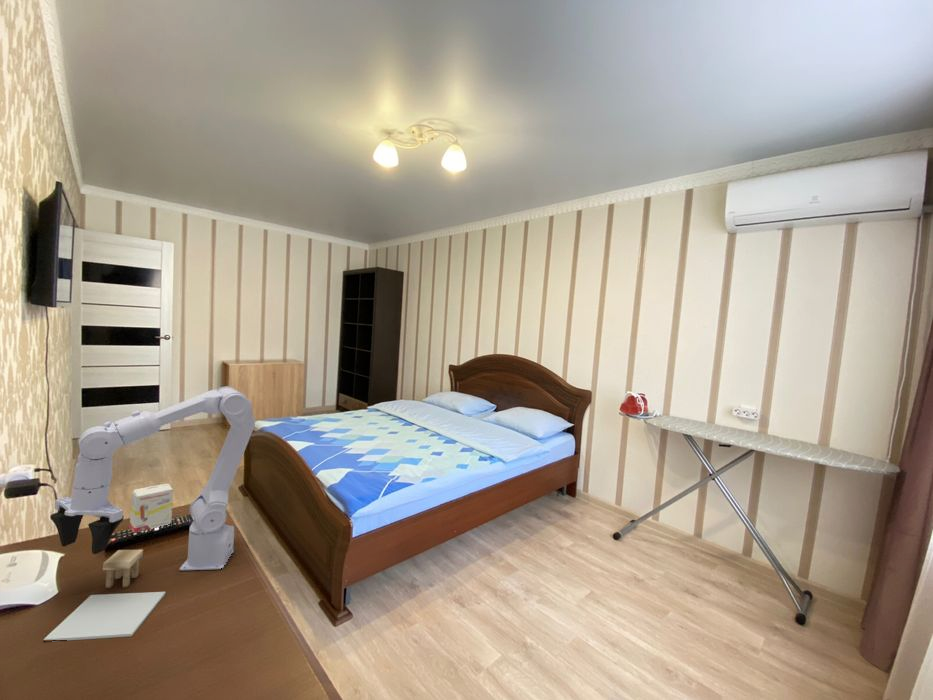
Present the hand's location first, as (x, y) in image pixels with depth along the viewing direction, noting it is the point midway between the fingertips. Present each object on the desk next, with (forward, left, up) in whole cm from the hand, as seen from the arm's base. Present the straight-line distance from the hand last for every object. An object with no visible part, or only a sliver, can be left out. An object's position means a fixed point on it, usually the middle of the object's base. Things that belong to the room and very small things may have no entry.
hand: (83, 547), depth 82 cm
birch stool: (-5, -5, -11) cm, 13 cm away
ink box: (+1, -28, -11) cm, 30 cm away
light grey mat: (-9, +6, -11) cm, 15 cm away
